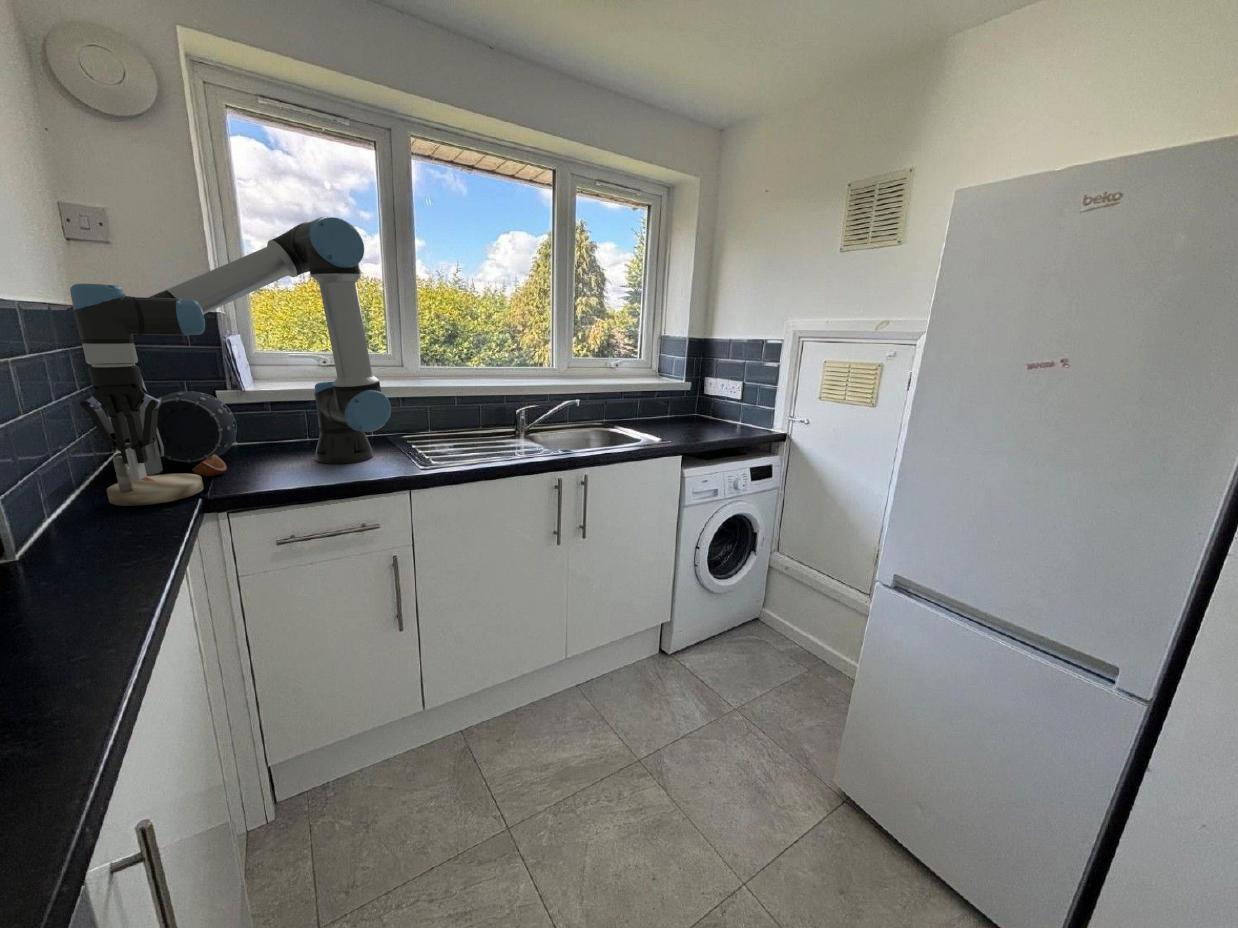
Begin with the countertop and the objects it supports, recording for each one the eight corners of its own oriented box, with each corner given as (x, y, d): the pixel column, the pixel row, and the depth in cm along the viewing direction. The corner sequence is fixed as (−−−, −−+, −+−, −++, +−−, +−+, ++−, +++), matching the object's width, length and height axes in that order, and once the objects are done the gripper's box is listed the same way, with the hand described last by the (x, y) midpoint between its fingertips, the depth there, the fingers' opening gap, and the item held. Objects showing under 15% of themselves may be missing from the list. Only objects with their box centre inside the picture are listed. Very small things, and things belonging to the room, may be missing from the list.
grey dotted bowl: (231, 465, 144) (219, 393, 139) (144, 468, 138) (128, 394, 133) (246, 456, 154) (235, 389, 148) (165, 459, 148) (151, 389, 143)
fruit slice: (219, 479, 131) (216, 460, 129) (187, 481, 129) (184, 462, 127) (231, 471, 138) (228, 453, 137) (202, 472, 136) (198, 454, 135)
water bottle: (116, 478, 129) (93, 378, 122) (142, 470, 136) (121, 375, 130) (156, 478, 130) (135, 379, 123) (179, 470, 137) (160, 376, 131)
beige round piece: (156, 480, 125) (148, 440, 123) (221, 486, 122) (213, 445, 119) (78, 500, 110) (67, 455, 108) (149, 508, 107) (139, 462, 104)
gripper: (162, 364, 108) (184, 471, 114) (86, 364, 105) (113, 475, 110) (142, 366, 101) (166, 480, 107) (59, 366, 98) (90, 485, 103)
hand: (139, 477), depth 109 cm, fingers closed
